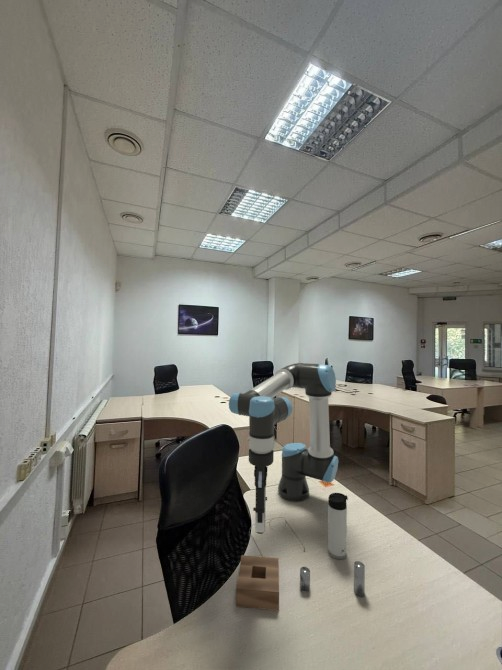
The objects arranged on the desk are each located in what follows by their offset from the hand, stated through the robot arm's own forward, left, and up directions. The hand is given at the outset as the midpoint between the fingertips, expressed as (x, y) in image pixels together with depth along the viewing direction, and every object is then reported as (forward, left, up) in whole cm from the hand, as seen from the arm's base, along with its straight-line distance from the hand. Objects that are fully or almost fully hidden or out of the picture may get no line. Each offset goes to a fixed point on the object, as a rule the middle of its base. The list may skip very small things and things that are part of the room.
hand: (260, 527), depth 83 cm
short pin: (-2, +14, -19) cm, 23 cm away
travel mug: (-17, +27, -19) cm, 37 cm away
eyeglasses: (-19, +5, -19) cm, 27 cm away
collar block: (0, 0, -19) cm, 19 cm away
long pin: (0, 0, -1) cm, 1 cm away
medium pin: (-2, +30, -19) cm, 35 cm away
